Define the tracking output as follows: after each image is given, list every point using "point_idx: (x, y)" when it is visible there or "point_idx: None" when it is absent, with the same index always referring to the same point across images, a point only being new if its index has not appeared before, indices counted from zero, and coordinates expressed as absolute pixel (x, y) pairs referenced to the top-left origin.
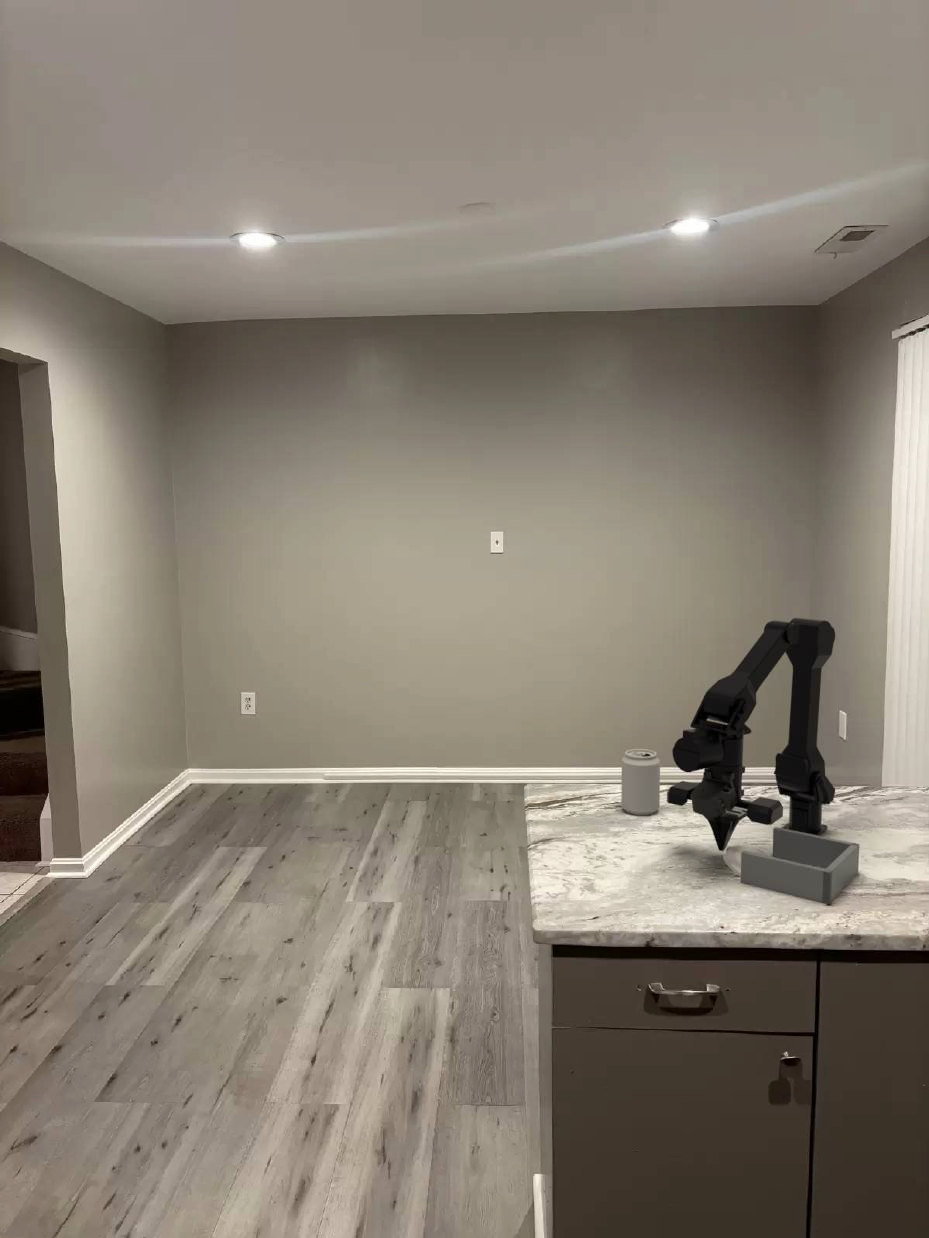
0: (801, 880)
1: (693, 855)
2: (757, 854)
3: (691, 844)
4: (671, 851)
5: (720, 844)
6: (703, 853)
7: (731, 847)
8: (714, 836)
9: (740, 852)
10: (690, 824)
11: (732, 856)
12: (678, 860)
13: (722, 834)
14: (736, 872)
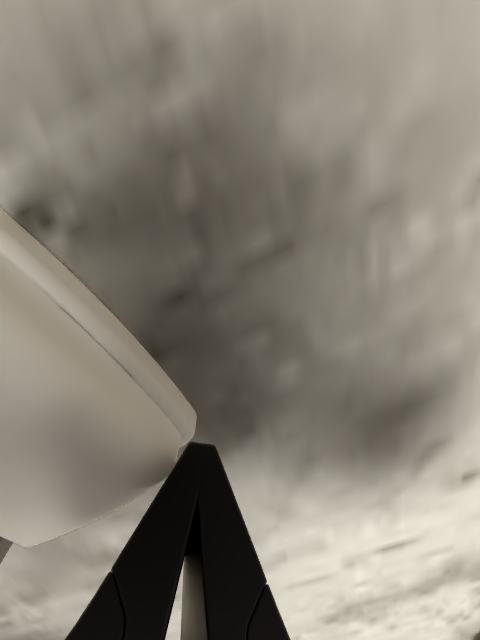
0: None
1: (347, 404)
2: None
3: (363, 499)
4: (457, 407)
5: (198, 476)
6: (302, 441)
7: (129, 476)
8: (246, 534)
9: (27, 424)
10: (374, 613)
11: (94, 383)
12: (426, 312)
13: (159, 571)
14: (53, 260)
